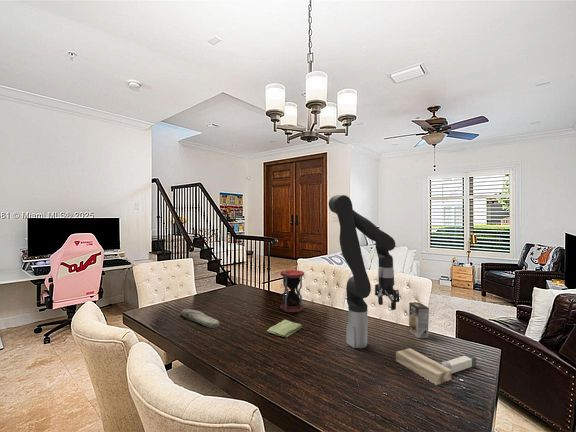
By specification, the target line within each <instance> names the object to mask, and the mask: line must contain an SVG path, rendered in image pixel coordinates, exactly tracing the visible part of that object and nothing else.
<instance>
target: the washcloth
mask: <svg viewBox="0 0 576 432" xmlns="http://www.w3.org/2000/svg"><path fill="white" fill-rule="evenodd" d="M302 327H303V325H302V324H300V323H296V322H293V321H290V320H288V319H283V320H282V321H280V322H278V323H277V324H274V325H273V326H271V327H269V328H268V329H267V330H266V332H267V333H269V334H271V335H274V336H281V337H282V338H288V337H290V336H292V335H293V334H295V333H296V332H298V331H299V330H301V329H302Z"/></svg>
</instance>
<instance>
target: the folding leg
mask: <svg viewBox="0 0 576 432" xmlns="http://www.w3.org/2000/svg"><path fill="white" fill-rule="evenodd" d="M441 365H443V366H445V367H447V368H449V369H451V375H452V374H454V373H457V372H460V371H463V370H467V369H469V368H474V367H476V366H477V357H476V356H474V355H471V354H469V353H466V354H464V355H462V356H459V357H456V358H453V359H449V360H447V361H441Z"/></svg>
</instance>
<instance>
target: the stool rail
mask: <svg viewBox="0 0 576 432" xmlns="http://www.w3.org/2000/svg"><path fill="white" fill-rule="evenodd" d="M395 362H397V363H399V364H400V365H402V366H404V367H405V368H407V369H409V370H410V371H412V372H413V373H415V374H417V375H418V374H419V375H418V376H419V377H422V378H423V377H424V380H427V381H428V380H429V381H428V382H430V383H432V384H433V383H434V384H433V385H435V386H439V385H441V383H442V384H444V383H443V382H445V383H447V382H450V381H451V380H452V374H451V369H449V368H447V367H445V366H443V365H442V363H439V362H437V361H435V360H433V359H431V358H429V357H427V356H426V355H424V354H422V353H420V352H418V351H416V350H415V349H413V348H405V349H401V350H398V351H396V352H395ZM449 380H450V381H449ZM446 381H447V382H446ZM438 384H439V385H438Z"/></svg>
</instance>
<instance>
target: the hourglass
mask: <svg viewBox="0 0 576 432" xmlns="http://www.w3.org/2000/svg"><path fill="white" fill-rule="evenodd" d="M280 275H281V276H282V279H283V280H282V283H283V284H282V285H283V287H284V291H283V293H282V304H281V305H280V306H279V308H280V310H282V311H283V312H286V313H287V312H288V313H297V312H302V311H304V309H305V306H304V304H302V303H303V297H302V294H301V289H302V286H303V276H304V275H305V272H304V271H302V270H300V269H299V270H297V269H286V270H285V269H284V270H282V271H280Z"/></svg>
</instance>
